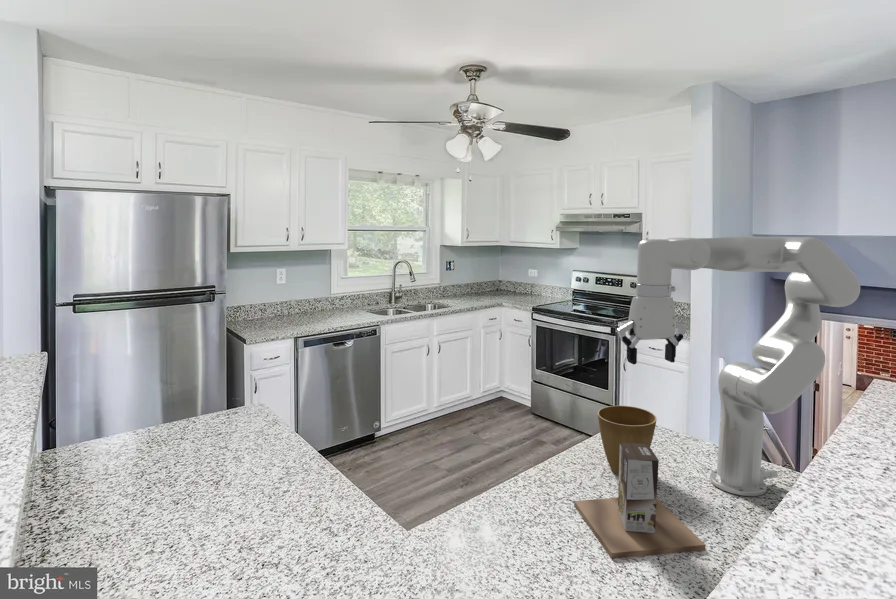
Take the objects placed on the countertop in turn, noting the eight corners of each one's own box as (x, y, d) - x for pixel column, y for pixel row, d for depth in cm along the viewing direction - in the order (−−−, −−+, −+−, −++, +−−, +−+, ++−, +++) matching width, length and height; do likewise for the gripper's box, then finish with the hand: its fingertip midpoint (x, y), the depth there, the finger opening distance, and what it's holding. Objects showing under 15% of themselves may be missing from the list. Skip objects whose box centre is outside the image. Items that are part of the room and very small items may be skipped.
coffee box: (656, 534, 106) (659, 461, 104) (624, 531, 107) (627, 459, 105) (646, 510, 115) (649, 443, 113) (616, 508, 116) (619, 441, 114)
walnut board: (653, 499, 122) (653, 494, 122) (705, 550, 102) (705, 544, 102) (574, 505, 119) (574, 500, 119) (611, 558, 100) (611, 553, 100)
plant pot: (595, 456, 146) (597, 403, 144) (650, 462, 142) (653, 407, 140) (596, 480, 132) (598, 421, 130) (657, 487, 128) (660, 427, 126)
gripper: (678, 289, 124) (675, 356, 126) (611, 291, 122) (609, 360, 124) (697, 292, 117) (693, 364, 119) (626, 294, 115) (624, 367, 117)
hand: (650, 362), depth 121 cm, fingers open, 9 cm apart
